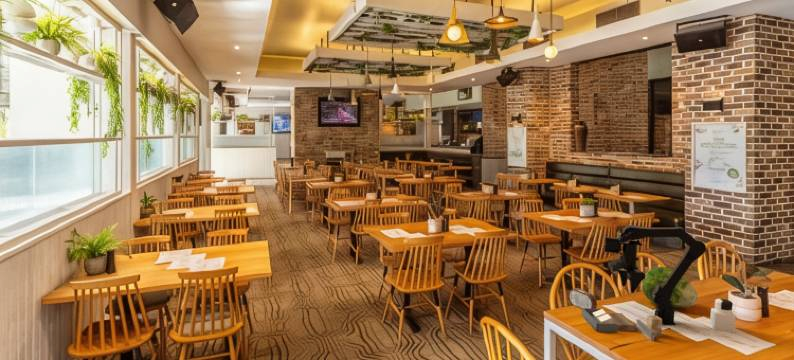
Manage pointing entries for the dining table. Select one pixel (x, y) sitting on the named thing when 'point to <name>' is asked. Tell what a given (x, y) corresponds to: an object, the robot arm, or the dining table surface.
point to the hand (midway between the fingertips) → (627, 289)
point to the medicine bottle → (723, 316)
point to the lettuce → (681, 294)
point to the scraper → (650, 327)
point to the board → (622, 322)
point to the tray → (597, 326)
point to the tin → (582, 298)
